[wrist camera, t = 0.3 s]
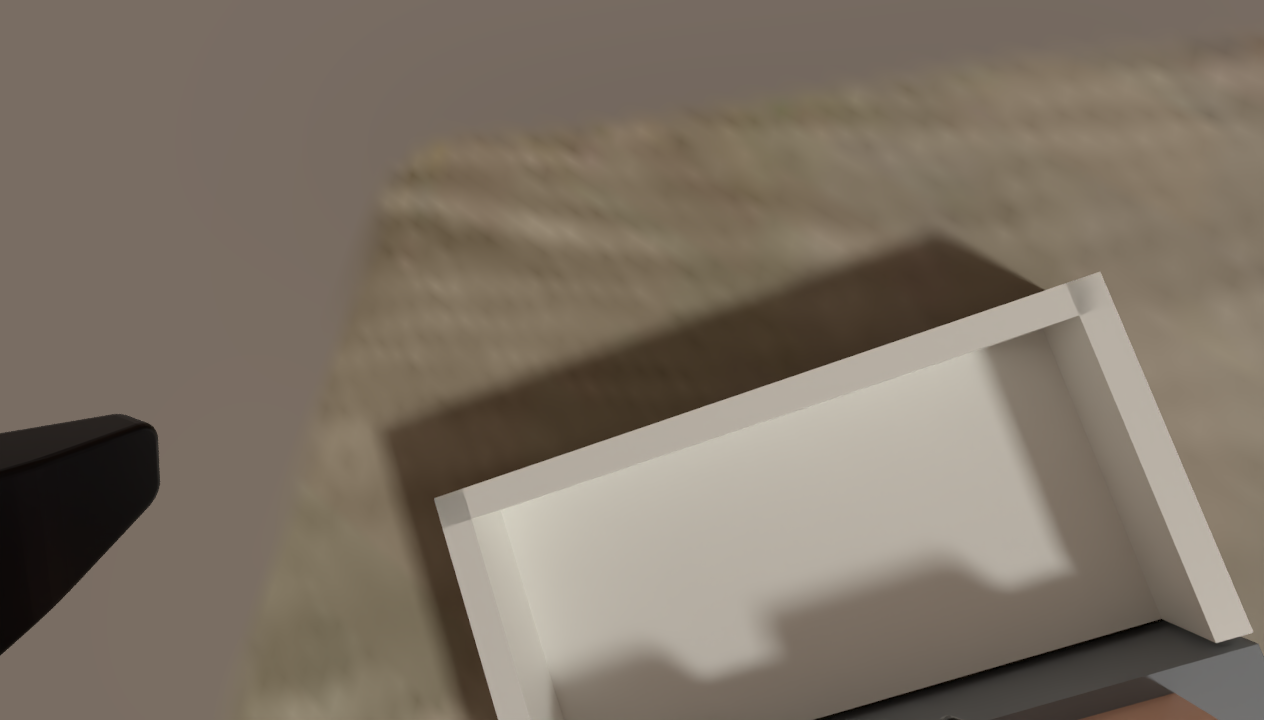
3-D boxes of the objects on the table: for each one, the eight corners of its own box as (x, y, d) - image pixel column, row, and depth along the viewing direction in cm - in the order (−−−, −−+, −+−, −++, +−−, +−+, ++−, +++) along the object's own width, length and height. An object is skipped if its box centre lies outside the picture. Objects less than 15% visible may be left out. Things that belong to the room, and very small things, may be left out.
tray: (1181, 604, 21) (1253, 632, 18) (561, 784, 22) (532, 837, 19) (1053, 294, 22) (1100, 271, 19) (473, 490, 24) (434, 498, 21)
